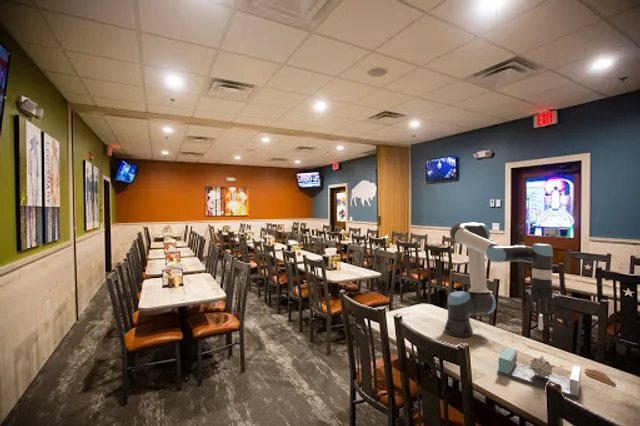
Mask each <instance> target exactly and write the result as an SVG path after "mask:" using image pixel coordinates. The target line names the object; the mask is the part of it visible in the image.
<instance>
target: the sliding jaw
mask: <svg viewBox="0 0 640 426" xmlns="http://www.w3.org/2000/svg"><path fill="white" fill-rule="evenodd" d="M517 361H518V351H517V349H516V348H513V347H508V346H505V348H504V349H503V350H502V352H501V353H500V355H499V356H498V369H499V371H501V372H504V373H507V374H509V373H510V372H511V371H512V369H513V367H514V365H515V364H516V363H518V362H517Z"/></svg>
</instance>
